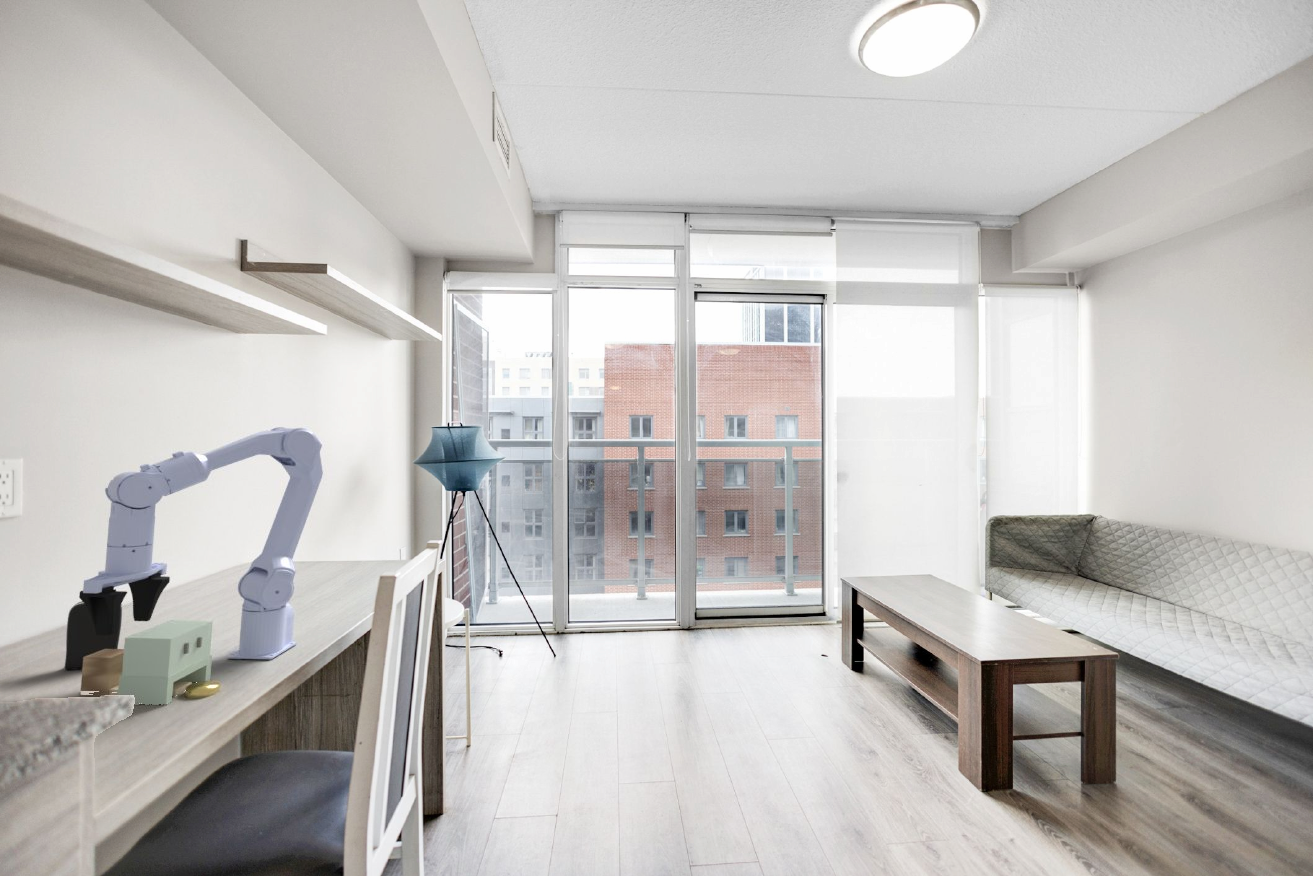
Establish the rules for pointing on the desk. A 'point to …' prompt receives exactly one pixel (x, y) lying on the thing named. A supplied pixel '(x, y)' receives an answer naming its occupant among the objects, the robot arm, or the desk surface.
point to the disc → (202, 689)
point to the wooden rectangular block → (109, 673)
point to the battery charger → (86, 636)
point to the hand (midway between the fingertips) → (124, 627)
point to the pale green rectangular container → (165, 660)
